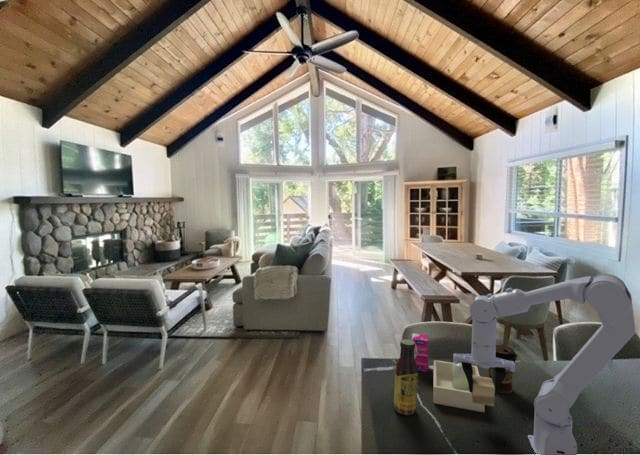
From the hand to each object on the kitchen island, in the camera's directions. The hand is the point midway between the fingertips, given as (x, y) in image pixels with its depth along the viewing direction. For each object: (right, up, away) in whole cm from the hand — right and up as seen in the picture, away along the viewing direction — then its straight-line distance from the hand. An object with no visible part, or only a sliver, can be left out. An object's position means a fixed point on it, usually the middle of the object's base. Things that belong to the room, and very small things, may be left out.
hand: (482, 392), depth 86 cm
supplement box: (-7, -7, +30) cm, 32 cm away
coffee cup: (+14, -8, +16) cm, 23 cm away
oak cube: (0, -2, 0) cm, 2 cm away
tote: (-1, -7, +15) cm, 17 cm away
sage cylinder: (+1, -7, +17) cm, 18 cm away
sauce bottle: (-19, -8, +6) cm, 22 cm away
